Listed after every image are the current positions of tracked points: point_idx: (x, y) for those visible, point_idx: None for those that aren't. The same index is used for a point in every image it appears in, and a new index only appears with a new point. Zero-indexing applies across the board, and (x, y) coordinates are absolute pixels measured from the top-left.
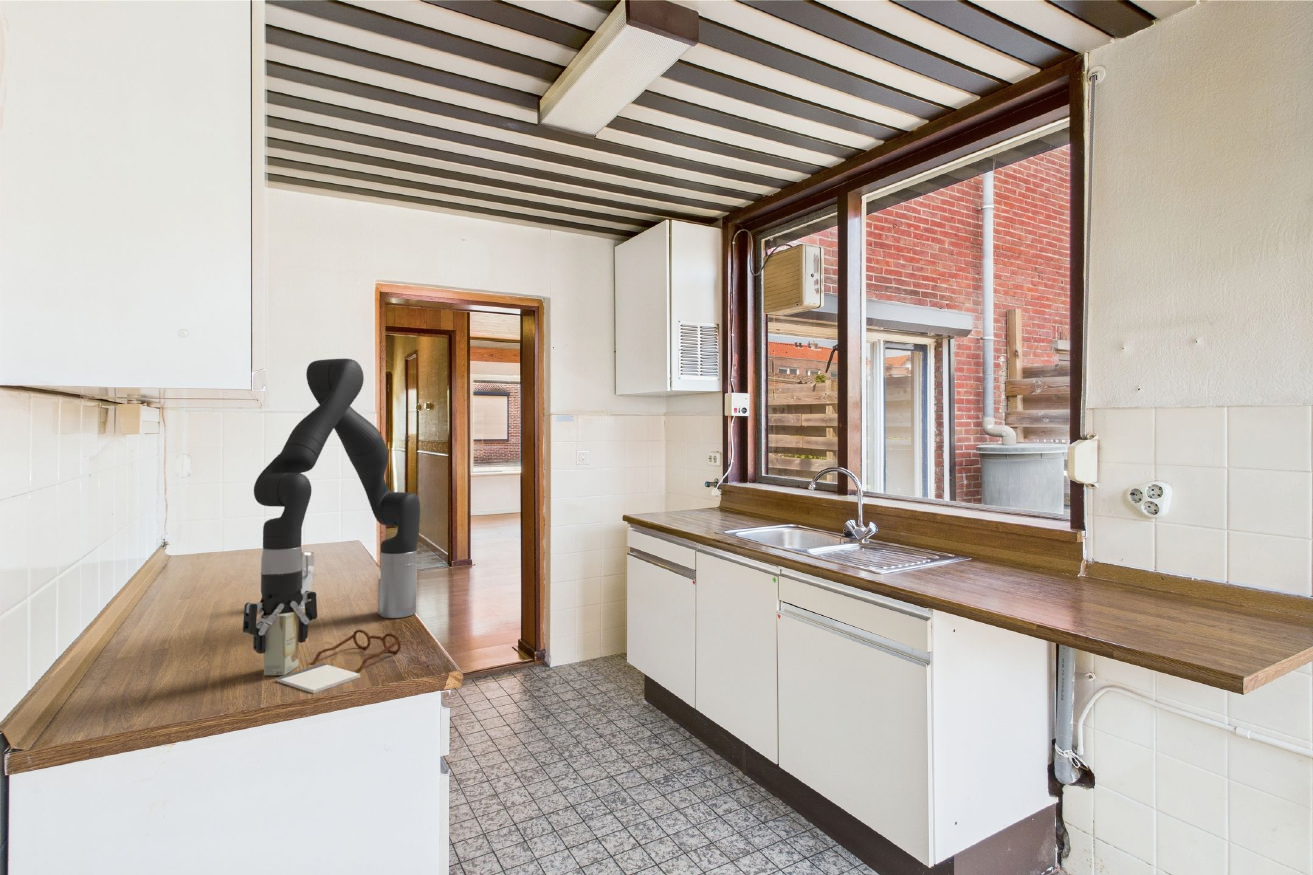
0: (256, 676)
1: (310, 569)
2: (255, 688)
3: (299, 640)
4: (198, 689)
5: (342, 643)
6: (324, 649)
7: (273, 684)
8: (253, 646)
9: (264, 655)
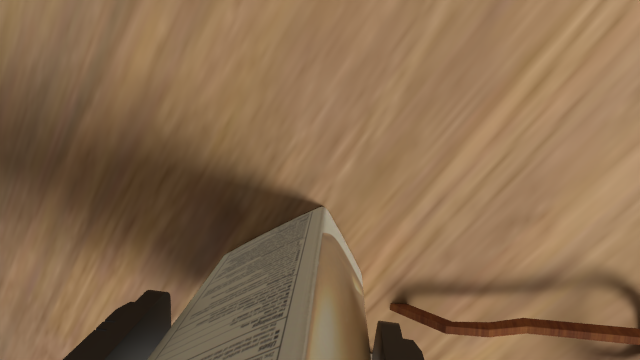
0: (210, 231)
1: None
2: None
3: (375, 347)
4: (30, 166)
5: (589, 335)
6: (477, 332)
7: None
8: (110, 315)
9: (191, 301)
